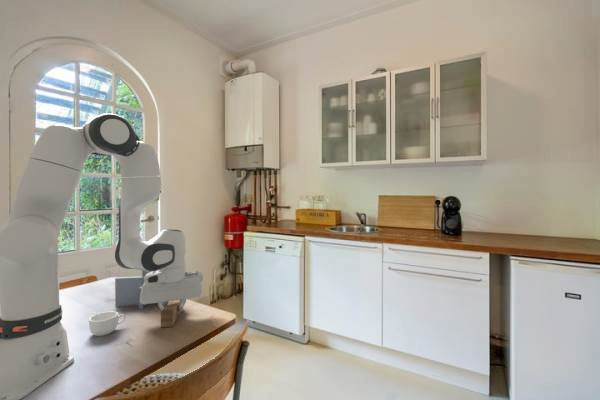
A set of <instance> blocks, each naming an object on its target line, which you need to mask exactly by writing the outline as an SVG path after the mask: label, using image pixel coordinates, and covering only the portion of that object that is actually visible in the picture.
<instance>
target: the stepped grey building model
mask: <svg viewBox="0 0 600 400" xmlns="http://www.w3.org/2000/svg"><path fill="white" fill-rule="evenodd" d="M149 272H152V271H144V270H141V274H142V275H141V276H140V275H139V276H138V275H136V276H135V275H134V276H117V277H115V278H114V290H115V292H114V294H115V296H114V298H115V304H114V305H115V307H125V306H138V309H144V308H145V307H146V306H147V305H148V304H141V303H140V294H141V289H142V286H143V284H144V277H145V275H146V274H147V273H149ZM168 302H169V301H166V302H163V303H162V306H163V307H165V306H166V305H167V304H168ZM149 305H156V304H155V303H150V304H149Z"/></svg>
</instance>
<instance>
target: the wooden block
mask: <svg viewBox="0 0 600 400" xmlns="http://www.w3.org/2000/svg"><path fill="white" fill-rule="evenodd" d="M182 303H183V302H182V299H181V300H174V301H168V302H167V303H166V304H165V306H164V307H165V308H164V309H163V310H162V311H160V328H167V327H169V328H170V327H173V326H174V324H175V323H176V321H177V319H178V318H179V317H180V315H181V313H182V311H181V312H179V305H181V304H182Z"/></svg>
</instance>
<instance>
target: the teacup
mask: <svg viewBox="0 0 600 400" xmlns="http://www.w3.org/2000/svg"><path fill="white" fill-rule="evenodd" d="M122 316H123V319H122V320H120V318H121V317H122ZM119 320H120V321H119ZM125 320H126V314H125V313H124V314H123V313H121V314H119V312H118V311H114V310H113V311H112V310H110V311H103V312H99V313H96V314H93V315H91V316H90V317H89V318H88V325H89V331H90V333H91V334H92V335H93V336H96V337H104V336H107V335H109V334H111V333H112V332H114V331H115V330H116V328H117V326H118V325H120V324H121V323H123V322H124V321H125Z"/></svg>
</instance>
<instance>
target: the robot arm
mask: <svg viewBox="0 0 600 400" xmlns="http://www.w3.org/2000/svg"><path fill="white" fill-rule="evenodd" d="M90 155H95V156H96V155H98V156H108V155H109V156H113V157H114V158H115V160H117V163H118V165H119V168H120V178H121V180H120V181H121V195H120V200H119V203H118V240H117V245H116V247H115V252H114V259H115V261H116V263H117V265H118V266H119V267H121V268H122V269H127V270H139V271H142V270H144V271H152V272H149V273H147V274H146V275H145V277H144V284H143V286H142V289H141V294H140V303H141V304H147V305H151V304H150V303H158V304H157V306H158V308H159V309H160V310H161V311H162V310H163V309H164V308H165V306H164V307H163V306H162V303H163V302H166V301H168V302H169V301H174V300H181V299H182V302H183V303H182V304H181V305H179V312H181V313H182V312H183V311H184V306H185V305H186V303H187V299H197V298H201V296H202V295H203V287H202V286H203V285H202V283H203V281H204V275H203V273H202V272H199V271H187V272H186V268H187V267H186V266H187V265H186V261H185V255H186V252H187V251H186V248H187V247H186V237H185V234H184V231H182V230H180V229H172V228H171V229H170V228H163V229H161V230H160V231H159V232H158V234H156V235H155V236H154V237H152V238H150V239H148V240H143V238H142V237H141V213H142V211H143V210H144V209H145V208H146V207H147V206H149V205H151V204H153V203H154V202H155V201H156V200H157V199H158V198H159V197H160V195H161V191H162V177H161V169H160V164H159V159H158V156H157V155H158V154H157V153H156V150H155V147H154V146H153V145H151V144H150V143H148V142H144V141H140V137H139V136H138V134H137V133H136V132H135V130H134V128H133V126H132V125H131V124H130V122H129V121H128V120H127V119H125V118H124V117H122V116H121V115H118V114H114V113H101V114H98V115H96V116H95V117H93V118H91V119H89V120H87V121H86V122H85V123H84V124H83V125H82V126H80V127H73V126H71V125H66V124H52V125H48V126H47V127H46V128H45V129H44V130H43V132H42V133H40V136H39V137H38V139H37V140H36V142H35V144H34V146H33V148H32V150H31V153H30V154H29V157H28V160H27V162H26V165H25V167H24V170H23V172H22V175H21V177H20V180H19V183H18V185H17V189H16V192H15V196H14V200H13V203H12V206H11V209H10V213H9V216H8V218H7V222H5V224H3V225H2V226H1V227H0V400H21V399H23V398H25V397H26V396H28V395H29V394H30V393H31V392H33V391H34V390H37V388H39V387H40V386H41V385H43V384H44V383H45V382H47V381H48V380H50V379H51V378H52V377H53V376H56V375H57V374H58V373H59V372H61V371H62V370H64V369H65V368H67V367H68V366H69V365H71V364H73V362H74V361H75V358H74V356H73V355H72V354H70V349H69V339H68V334H67V330H66V329H65V328H64V325H63V324H62V322H61V321H62V319H63V309H62V308H63V307H62V305H61V304H60V270H59V267H60V266H59V263H60V262H59V236H60V233H61V230H62V228H63V225H64V222H65V220H66V217H67V213H68V211H69V209H70V205H71V203H72V200H73V197H74V196H75V192H76V189H77V186H78V184H79V181H80V178H81V176H82V172H83V169H84V165H85V162H86V161H87V159H88V157H90ZM161 311H160V312H161Z"/></svg>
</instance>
